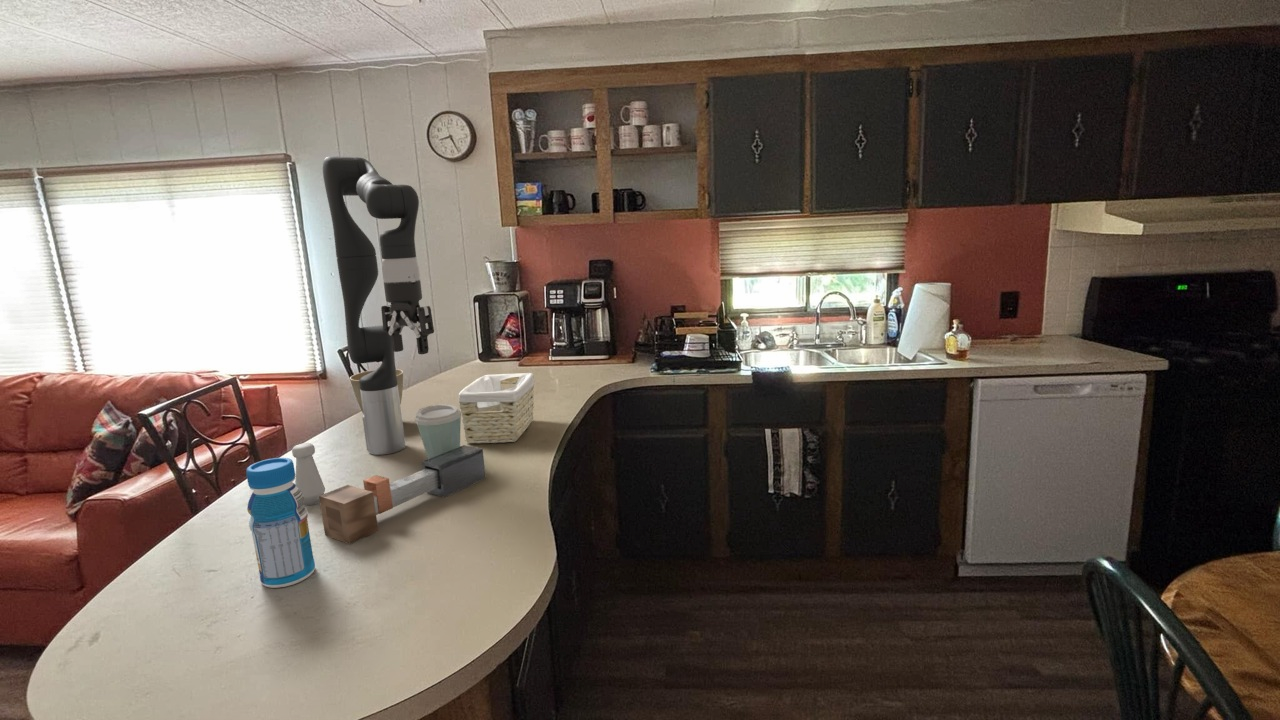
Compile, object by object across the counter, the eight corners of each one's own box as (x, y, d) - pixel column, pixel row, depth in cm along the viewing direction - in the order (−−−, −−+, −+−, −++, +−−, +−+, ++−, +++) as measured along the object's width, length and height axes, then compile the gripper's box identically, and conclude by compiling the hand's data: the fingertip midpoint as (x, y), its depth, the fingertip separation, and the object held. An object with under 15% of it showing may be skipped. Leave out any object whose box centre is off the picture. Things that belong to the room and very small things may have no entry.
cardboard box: (353, 522, 127) (347, 484, 126) (378, 530, 123) (372, 491, 122) (325, 535, 122) (318, 495, 121) (350, 544, 118) (344, 503, 117)
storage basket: (486, 420, 194) (482, 373, 191) (539, 418, 193) (535, 371, 190) (461, 446, 171) (455, 393, 168) (520, 445, 170) (515, 391, 167)
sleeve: (467, 473, 151) (463, 445, 149) (485, 478, 147) (482, 448, 146) (425, 492, 141) (421, 461, 139) (444, 497, 138) (441, 466, 136)
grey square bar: (433, 481, 141) (430, 454, 140) (445, 484, 139) (442, 456, 138) (346, 518, 124) (342, 488, 123) (359, 523, 122) (354, 492, 120)
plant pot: (346, 428, 192) (339, 377, 189) (390, 416, 204) (384, 367, 201) (375, 435, 184) (368, 382, 181) (419, 422, 196) (413, 371, 193)
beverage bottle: (277, 595, 102) (256, 477, 98) (249, 582, 107) (228, 468, 103) (327, 570, 109) (309, 459, 105) (299, 559, 114) (281, 452, 110)
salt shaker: (332, 498, 140) (323, 441, 137) (309, 509, 135) (300, 450, 132) (313, 494, 142) (305, 439, 140) (290, 505, 137) (281, 447, 135)
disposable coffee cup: (475, 466, 155) (469, 407, 152) (435, 480, 148) (428, 418, 145) (452, 457, 162) (446, 400, 159) (412, 470, 155) (405, 410, 152)
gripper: (366, 281, 140) (376, 353, 143) (408, 281, 132) (417, 357, 135) (395, 277, 146) (404, 347, 149) (437, 277, 138) (445, 351, 141)
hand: (410, 352), depth 142 cm, fingers open, 8 cm apart
